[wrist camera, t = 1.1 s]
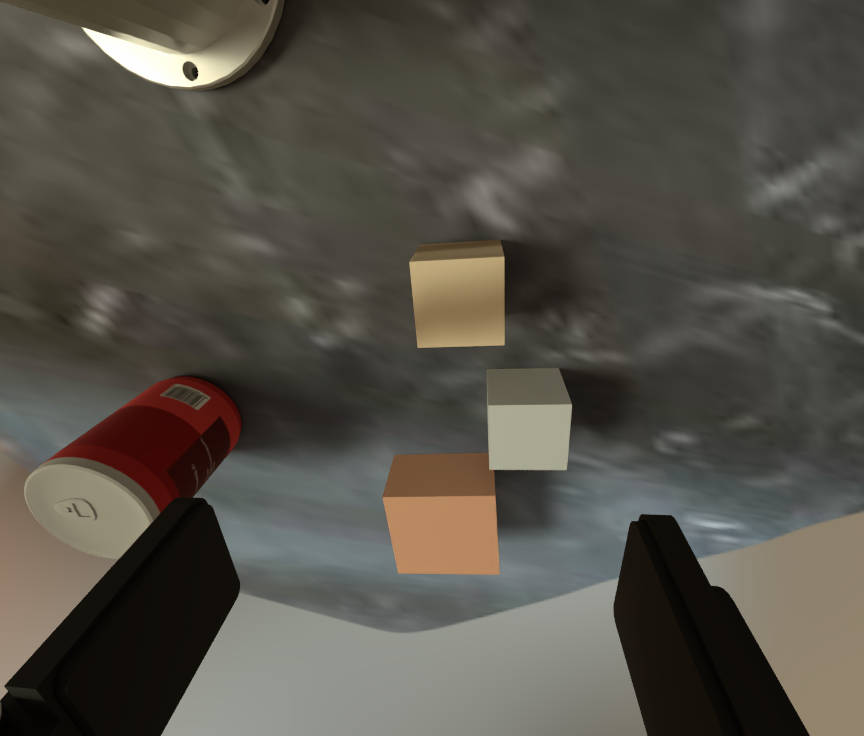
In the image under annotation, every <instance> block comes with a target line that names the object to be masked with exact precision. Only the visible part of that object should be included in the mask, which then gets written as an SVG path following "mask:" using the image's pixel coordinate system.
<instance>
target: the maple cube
mask: <svg viewBox="0 0 864 736" xmlns="http://www.w3.org/2000/svg"><path fill="white" fill-rule="evenodd" d="M409 263H410V273H411V284H412V294H413V304H414V314H415V324H416V335H417V345H418V348H427V347H461V346H495V345H505V344H504V253H503V249H502V244H501V240H485V241H468V242H452V243H435V244H421V245H420V246H419V248H418V249H417V251H416V252H415V254H414V255H413V257H412V259H411V260H410V262H409Z"/></svg>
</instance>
